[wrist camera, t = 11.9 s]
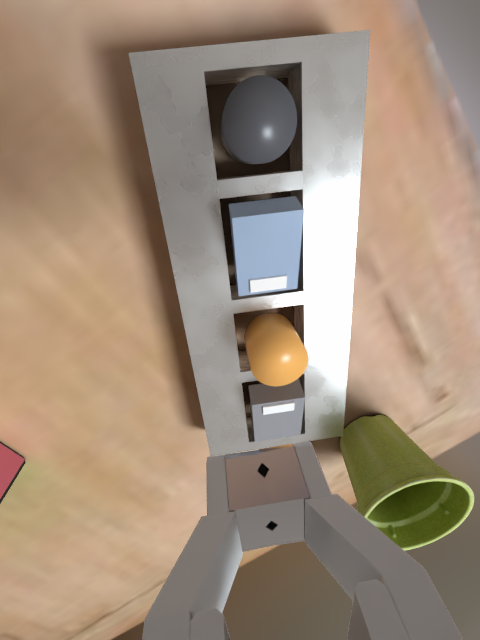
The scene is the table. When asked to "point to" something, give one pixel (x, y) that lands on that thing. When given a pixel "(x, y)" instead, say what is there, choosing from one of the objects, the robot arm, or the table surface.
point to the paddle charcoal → (276, 410)
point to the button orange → (274, 350)
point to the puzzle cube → (8, 468)
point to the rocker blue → (266, 244)
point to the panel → (302, 180)
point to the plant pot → (401, 484)
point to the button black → (258, 120)
